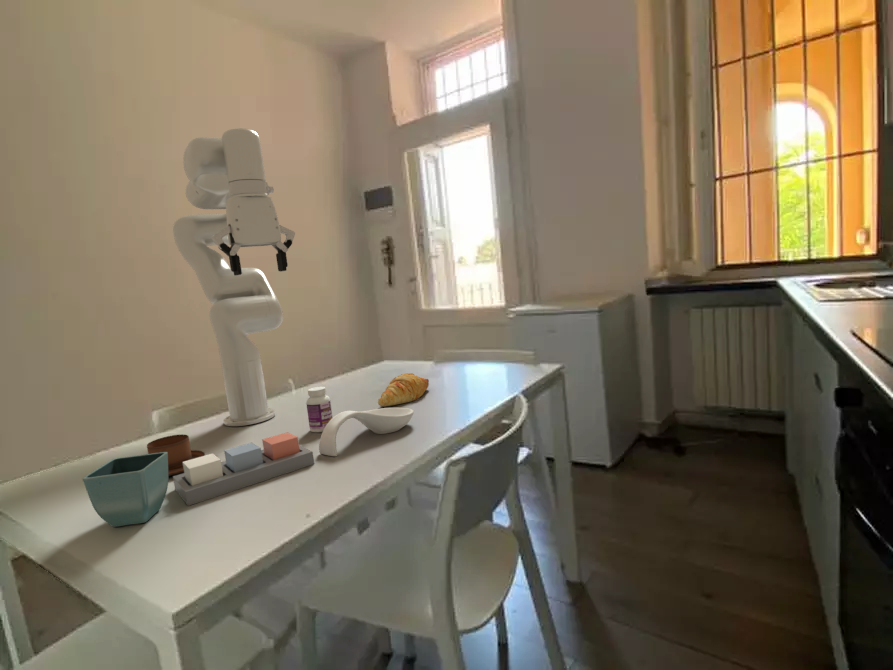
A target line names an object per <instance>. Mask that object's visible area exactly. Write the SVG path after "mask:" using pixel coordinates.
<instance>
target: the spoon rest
mask: <svg viewBox="0 0 893 670" xmlns="http://www.w3.org/2000/svg"><path fill="white" fill-rule="evenodd" d="M414 412H415V410H414V409H412V408H407V407H384V408H383V407H382V408H376V409H375V408H374V409H370V410H369V409H368V410H363V411H356V410H344V411H341V412H339V413H337V414H336V415H334V416H332V419H331V420H330V421H329V422H328V424H327V425H326V427H325V428H324V430H323V432H321V436H320V440H319V443H318V444H319V445H318V450H319V452H318V453H319V454H321V455H325V456H328V457H336V456H337V455H338V451H337V450H338V449H337V434H338V431H339V429H340V428H341V426H342V425H343V424H344V423H346V421H348V420H349V419H355V420H357V421H358V422H359V423H361V424H362V425H363V426H365V427H366V428H367V429H369V430H370V431H372V432H373V433H375V434H380V435H382V434H389V433H391V434H392V433H394V432H397V431H399V430H401V429H402V428H403V427H405V426H406V425H407V424H409V423H410V421H411V420H412V418H413V416H414Z"/></svg>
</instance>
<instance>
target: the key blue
mask: <svg viewBox="0 0 893 670" xmlns="http://www.w3.org/2000/svg"><path fill="white" fill-rule="evenodd" d="M261 450H262V448H261V447H260V446H258V445H257V444H255V443H253V442H248V443H245V444H241V445H237V446H234V447H231V448H227V449H223V452H224V458H225V461H226V465H227V467H229V468H230V469H231V470H232V471H234V472H238V471H241V470H244V469H247V468H251V467H254V466H257V465H260V464H263V459H262V453H261Z"/></svg>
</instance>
